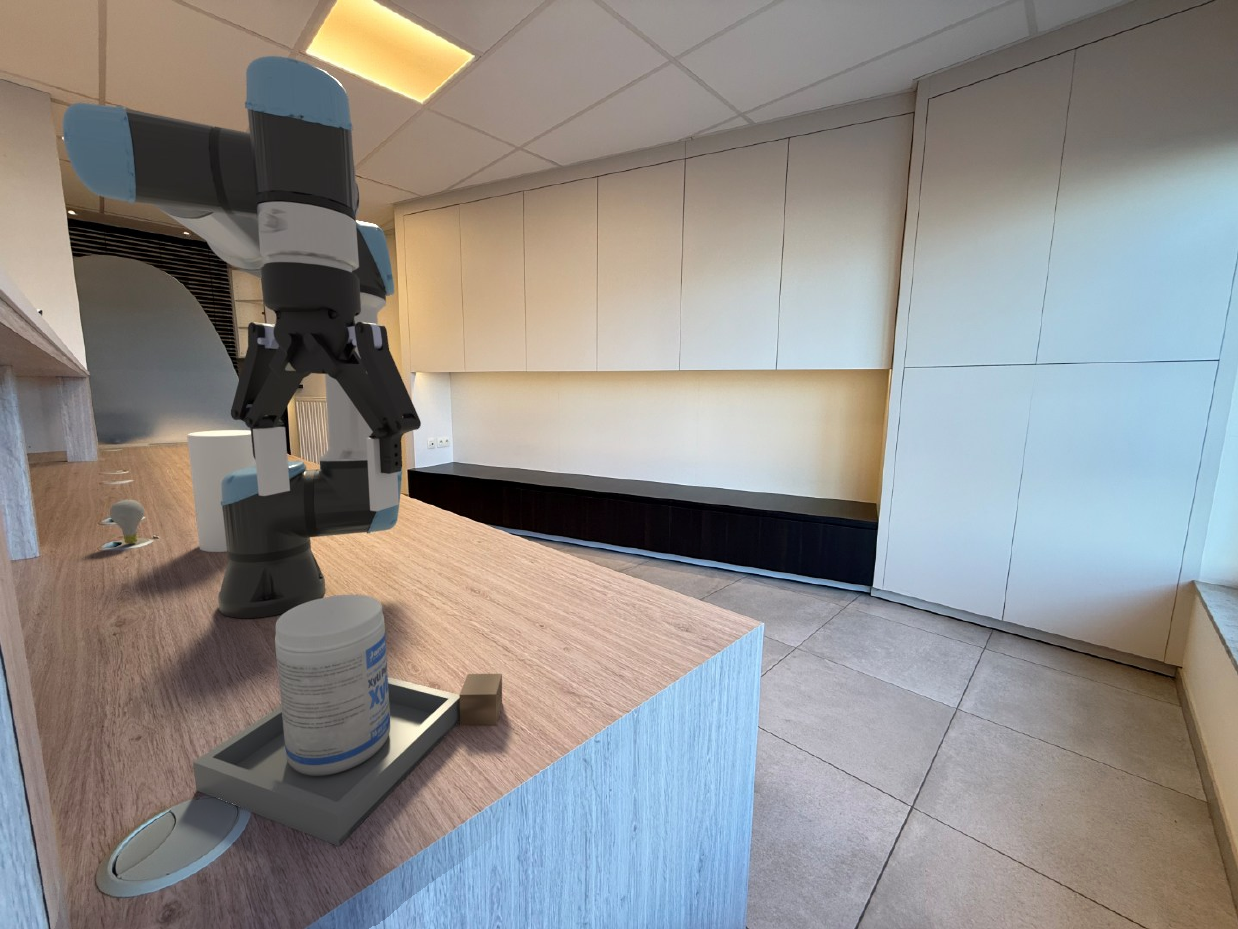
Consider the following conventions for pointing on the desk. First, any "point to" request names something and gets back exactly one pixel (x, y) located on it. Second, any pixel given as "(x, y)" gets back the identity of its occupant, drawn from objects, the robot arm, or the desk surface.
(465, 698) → the walnut block
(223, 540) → the cylinder
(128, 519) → the light bulb
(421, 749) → the tray
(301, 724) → the supplement tub
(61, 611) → the desk surface
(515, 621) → the desk surface
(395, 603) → the desk surface
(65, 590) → the desk surface
